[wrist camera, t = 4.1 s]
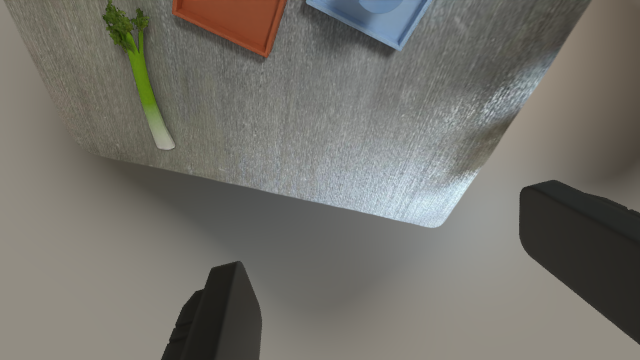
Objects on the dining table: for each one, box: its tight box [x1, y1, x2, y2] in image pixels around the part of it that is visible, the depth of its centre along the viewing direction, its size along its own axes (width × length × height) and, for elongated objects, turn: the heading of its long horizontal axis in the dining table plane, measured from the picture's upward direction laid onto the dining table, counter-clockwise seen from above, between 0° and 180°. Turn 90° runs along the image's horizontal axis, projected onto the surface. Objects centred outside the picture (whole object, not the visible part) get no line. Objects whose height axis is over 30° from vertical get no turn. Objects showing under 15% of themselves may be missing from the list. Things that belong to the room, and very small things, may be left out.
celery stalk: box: [102, 0, 176, 150], centre depth 58 cm, size 6×7×30 cm
